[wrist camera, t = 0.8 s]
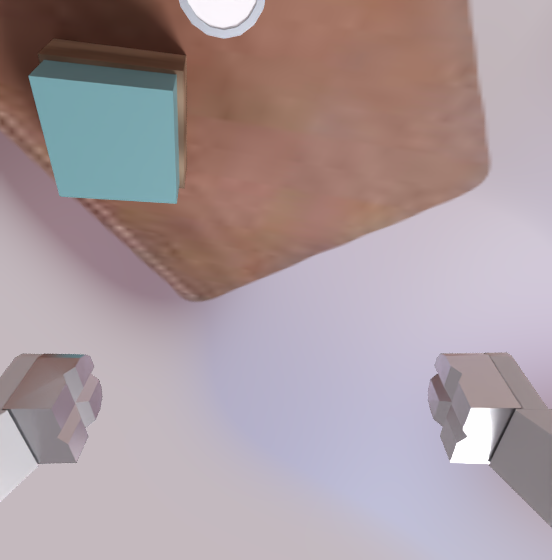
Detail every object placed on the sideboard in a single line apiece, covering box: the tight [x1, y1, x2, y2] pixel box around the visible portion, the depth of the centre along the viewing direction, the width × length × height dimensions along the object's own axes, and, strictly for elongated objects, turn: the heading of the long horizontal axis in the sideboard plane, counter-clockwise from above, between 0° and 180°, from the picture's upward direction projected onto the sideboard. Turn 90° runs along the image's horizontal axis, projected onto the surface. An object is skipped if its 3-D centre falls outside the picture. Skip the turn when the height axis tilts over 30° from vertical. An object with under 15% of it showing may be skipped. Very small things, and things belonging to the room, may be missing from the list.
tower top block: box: [29, 60, 179, 204], centre depth 38 cm, size 11×11×4 cm
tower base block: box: [38, 38, 187, 188], centre depth 41 cm, size 12×12×5 cm
